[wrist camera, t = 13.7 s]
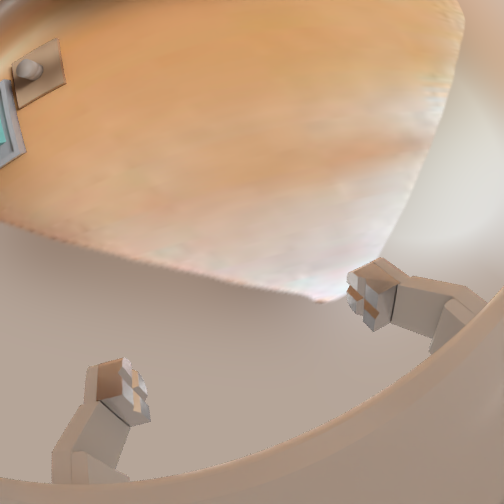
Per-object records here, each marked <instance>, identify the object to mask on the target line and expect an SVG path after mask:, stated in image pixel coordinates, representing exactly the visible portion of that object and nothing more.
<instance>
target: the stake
mask: <svg viewBox="0 0 504 504" xmlns="http://www.w3.org/2000/svg"><path fill="white" fill-rule="evenodd" d="M12 70H13V78H14V84H15V91H16V96H17V101H18V106H19V108H23V107H25V106H27V105H28V104H30V103H32V102H33V101H35V100H37V99H38V98H40V97H42V96H44V95H45V94H47V93H49V92H51V91H53V90H55V89H57V88H59V87H60V86H62V85H64V84H66V79H65V74H64V69H63V63H62V58H61V51H60V44H59V39H58V38H55V39H53V40H51V41H49V42H47V43H45V44H44V45H42V46H40V47H38V48H36V49H35V50H33V51H31V52H30V53H28V54H26V55H25V56H23V57H22V58H20V59H18V60H17V61H15V62H14V63H12Z"/></svg>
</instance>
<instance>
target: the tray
mask: <svg viewBox="0 0 504 504" xmlns="http://www.w3.org/2000/svg"><path fill="white" fill-rule="evenodd" d="M0 119H1V123H2V127H3V131H4V135H5V139H6V142H5V143H4V144H2V145H1V146H0V169H1V168H2V167H4V166H5V165H7V164H8V163H10V162H11V161H13V160H14V159H16V158H18V157H19V156H21V155H22V154H24V153H26V148H25V145H24V141H23V137H22V134H21V130H20V126H19V121H18V117H17V113H16V108H15V103H14V97H13V92H12V86H11V80H5V79H4V80H2V81H1V82H0Z"/></svg>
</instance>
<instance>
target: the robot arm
mask: <svg viewBox="0 0 504 504" xmlns="http://www.w3.org/2000/svg"><path fill="white" fill-rule="evenodd" d="M347 283H348V284H349V285H350V286H349V288H348V290H347V300H348V303H349V306H350V307H351V309H352V310H353V311H354V312H355V313H356V314H358V315H362V316H363V322H364V323H365V324H366V325H367V326H368V327H369V328H370V329H371V330H372V331H373V332H375V331H376V330H378V329H380V328H382V327H384V326H385V325H387V324H389V323H392V324H394V325H397V326H400V327H402V328H405V329H408V330H410V331H413V332H416V333H418V334H421V335H424V336H427V337H429V338H432V342H431V344H430V347H429V352H430V353H431V354H432V355H431V356H430V357H428V358H427V359H426V360H424V361H423V362H422V363H420V364H419V365H418V366H417V367H415V368H414V369H412V370H411V371H410V372H408V373H407V374H406V375H404V376H403V377H401V378H400V379H398V380H397V381H396V382H394V383H393V384H391V385H390V386H388V387H387V388H385V389H383V390H382V391H380V392H379V393H377V394H376V395H374V396H372V397H371V398H369V399H368V400H366V401H364V402H363V403H361V404H359V405H357V406H356V407H354V408H352V409H350V410H349V411H347V412H345V413H343V414H341V415H340V416H338V417H336V418H334V419H332V420H330V421H328V422H326V423H324V424H322V425H320V426H318V427H316V428H314V429H312V430H310V431H307V432H305V433H303V434H301V435H299V436H296V437H294V438H292V439H289V440H287V441H285V442H282V443H280V444H277V445H275V446H272V447H270V448H267V449H264V450H262V451H259V452H256V453H253V454H250V455H248V456H244V457H241V458H239V459H235V460H232V461H229V462H225V463H222V464H219V465H215V466H211V467H208V468H204V469H200V470H195V471H191V472H187V473H182V474H177V475H172V476H166V477H161V478H155V479H148V480H140V481H132V482H130V479H129V477H128V476H127V475H126V474H124V473H122V472H119V471H118V470H116V466H117V463H118V461H119V458H120V455H121V452H122V450H123V447H124V444H125V441H126V438H127V436H128V433H129V431H130V427H132V426H136V425H140V424H144V423H148V422H150V421H151V420H150V412H149V406H148V405H147V404H146V403H145V402H144V401H145V400H146V398H147V388H146V385H145V382H144V380H143V378H142V376H141V375H140V374H139V372H138V371H135V370H133V369H132V364H131V362H130V361H129V360H128V359H127V358H120V359H116V360H113V361H109V362H105V363H101V364H98V365H94V366H90V367H88V369H87V371H86V381H85V393H84V404H83V405H80V406H79V408H78V410H77V411H76V413H75V414H74V416H73V418H72V419H71V421H70V422H69V424H68V426H67V428H66V429H65V431H64V432H63V434H62V436H61V438H60V439H59V441H58V442H57V444H56V446H55V448H54V449H53V451H52V484H49V483H38V482H28V481H21V480H14V479H8V478H3V477H0V504H504V286H503V287H502V288H501V290H500V291H499V292H498V293H497V294H496V295H495V296H494V297H493V299H491V300H490V302H489V303H487V302H486V301H484V300H483V299H482V298H481V297H479V296H478V295H477V294H475V293H474V292H473V291H471V290H470V289H469V288H467V287H466V286H462V285H457V284H452V283H447V282H442V281H437V280H432V279H427V278H422V277H417V276H412V277H409V276H408V275H407V274H405V273H404V272H402V271H401V270H400V269H398V268H397V267H396V266H394V265H393V264H391V263H390V262H389V261H387V260H386V259H384V258H381V257H380V258H378V259H376V260H374V261H372V262H370V263H368V264H366V265H364V266H362V267H359V268H357V269H355V270H353V271H351V272H349V273H348V275H347Z"/></svg>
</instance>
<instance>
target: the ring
mask: <svg viewBox="0 0 504 504" xmlns="http://www.w3.org/2000/svg"><path fill="white" fill-rule="evenodd" d="M5 142H6V139H5V135H4V131H3V127H2V123H1V119H0V146H1V145H2V144H4V143H5Z"/></svg>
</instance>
